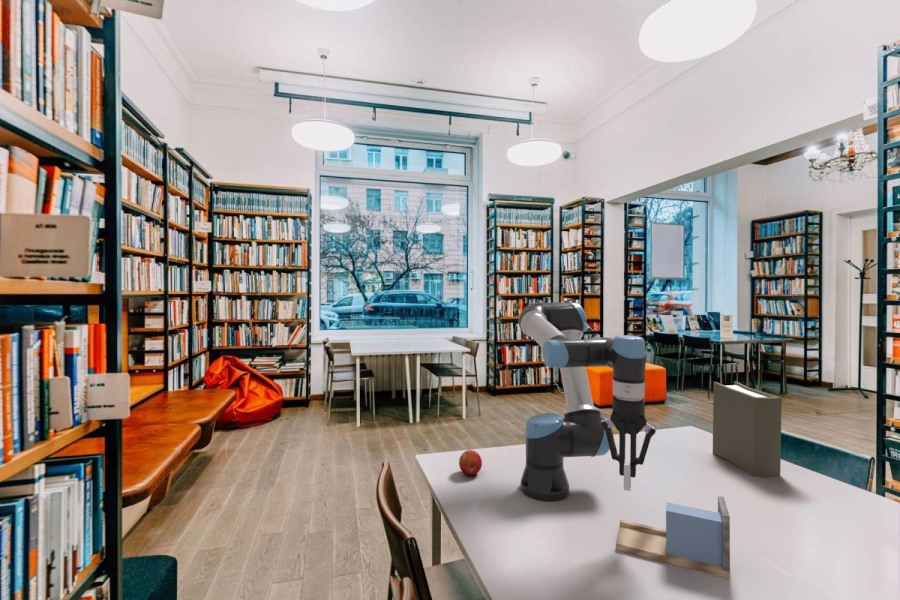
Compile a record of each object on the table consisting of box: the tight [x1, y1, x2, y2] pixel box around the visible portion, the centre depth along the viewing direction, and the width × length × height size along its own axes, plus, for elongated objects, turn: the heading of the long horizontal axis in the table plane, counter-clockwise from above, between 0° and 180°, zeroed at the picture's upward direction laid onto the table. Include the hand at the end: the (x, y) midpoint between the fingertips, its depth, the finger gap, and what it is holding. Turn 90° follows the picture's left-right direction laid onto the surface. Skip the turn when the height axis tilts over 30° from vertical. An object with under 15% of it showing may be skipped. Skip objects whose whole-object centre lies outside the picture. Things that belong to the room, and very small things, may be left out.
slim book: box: [665, 501, 723, 568], centre depth 95 cm, size 11×4×10 cm, turn 62°
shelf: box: [615, 495, 731, 580], centre depth 99 cm, size 23×10×14 cm, turn 62°
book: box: [712, 381, 783, 478], centre depth 149 cm, size 22×9×28 cm, turn 2°
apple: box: [458, 449, 483, 477], centre depth 143 cm, size 8×8×8 cm
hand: (627, 488), depth 105 cm, fingers closed
